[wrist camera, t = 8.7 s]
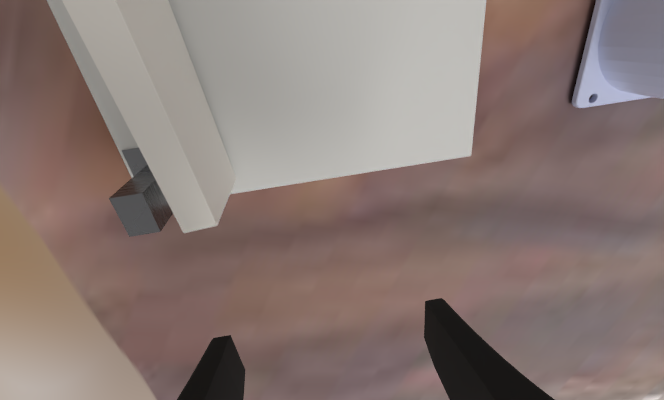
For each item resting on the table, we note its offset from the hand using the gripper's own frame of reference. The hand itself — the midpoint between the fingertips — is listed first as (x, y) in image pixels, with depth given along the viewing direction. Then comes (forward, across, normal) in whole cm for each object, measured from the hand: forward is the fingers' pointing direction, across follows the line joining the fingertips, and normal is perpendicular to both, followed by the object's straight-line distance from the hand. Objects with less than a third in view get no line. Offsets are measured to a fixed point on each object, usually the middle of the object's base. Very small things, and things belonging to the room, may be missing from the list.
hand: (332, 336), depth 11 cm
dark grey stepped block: (+10, +8, -4) cm, 13 cm away
